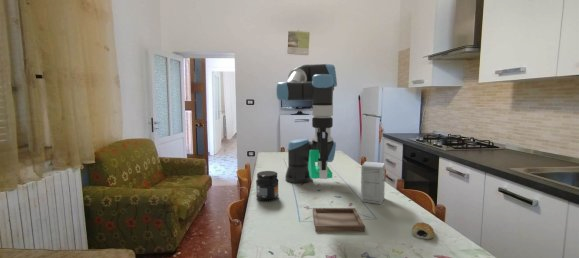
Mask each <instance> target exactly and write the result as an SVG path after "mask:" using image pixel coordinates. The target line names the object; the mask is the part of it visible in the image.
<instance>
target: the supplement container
mask: <svg viewBox="0 0 579 258" xmlns="http://www.w3.org/2000/svg"><path fill="white" fill-rule="evenodd" d="M256 178H257V179H256V181H255V183H256V184H255V185H256V186H255V187H256V192H255V193H256V194H255V195H256V199H257V200H258V201H261V202H273V201H276V200H277V199H278V198H279V179H278V172H276V171H275V170H274V171H273V170H263V171H260V172H259V171H258V172H257V174H256Z"/></svg>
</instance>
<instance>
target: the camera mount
mask: <svg viewBox="0 0 579 258" xmlns="http://www.w3.org/2000/svg"><path fill="white" fill-rule="evenodd" d="M318 158H319V150H310V151H309V164H308V170H309V176H310V178H312V179H320V178H319V167H320V166H318V165H316V162H315V161H318ZM327 179H333V172H332V171H331V169H330V168H329V166H328V165H327Z"/></svg>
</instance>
